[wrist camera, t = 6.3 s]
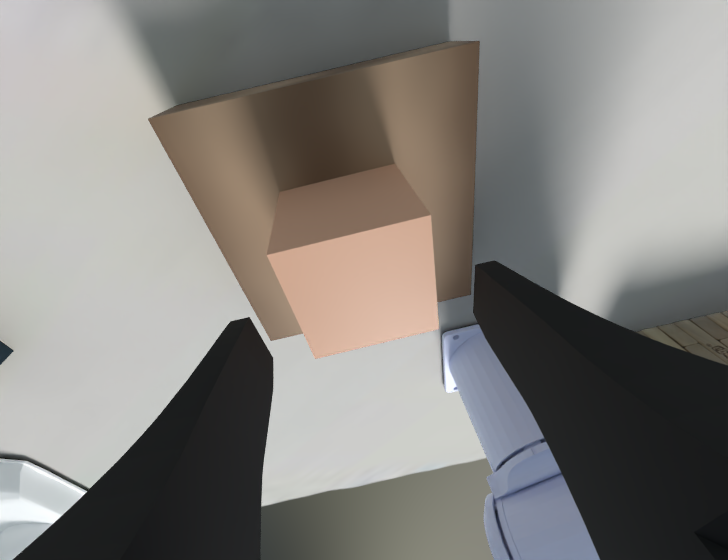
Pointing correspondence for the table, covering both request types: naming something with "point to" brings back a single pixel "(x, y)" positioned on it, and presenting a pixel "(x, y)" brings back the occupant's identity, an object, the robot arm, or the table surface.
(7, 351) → the watch
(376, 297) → the cube
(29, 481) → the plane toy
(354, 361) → the table surface
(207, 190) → the base block
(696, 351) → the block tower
